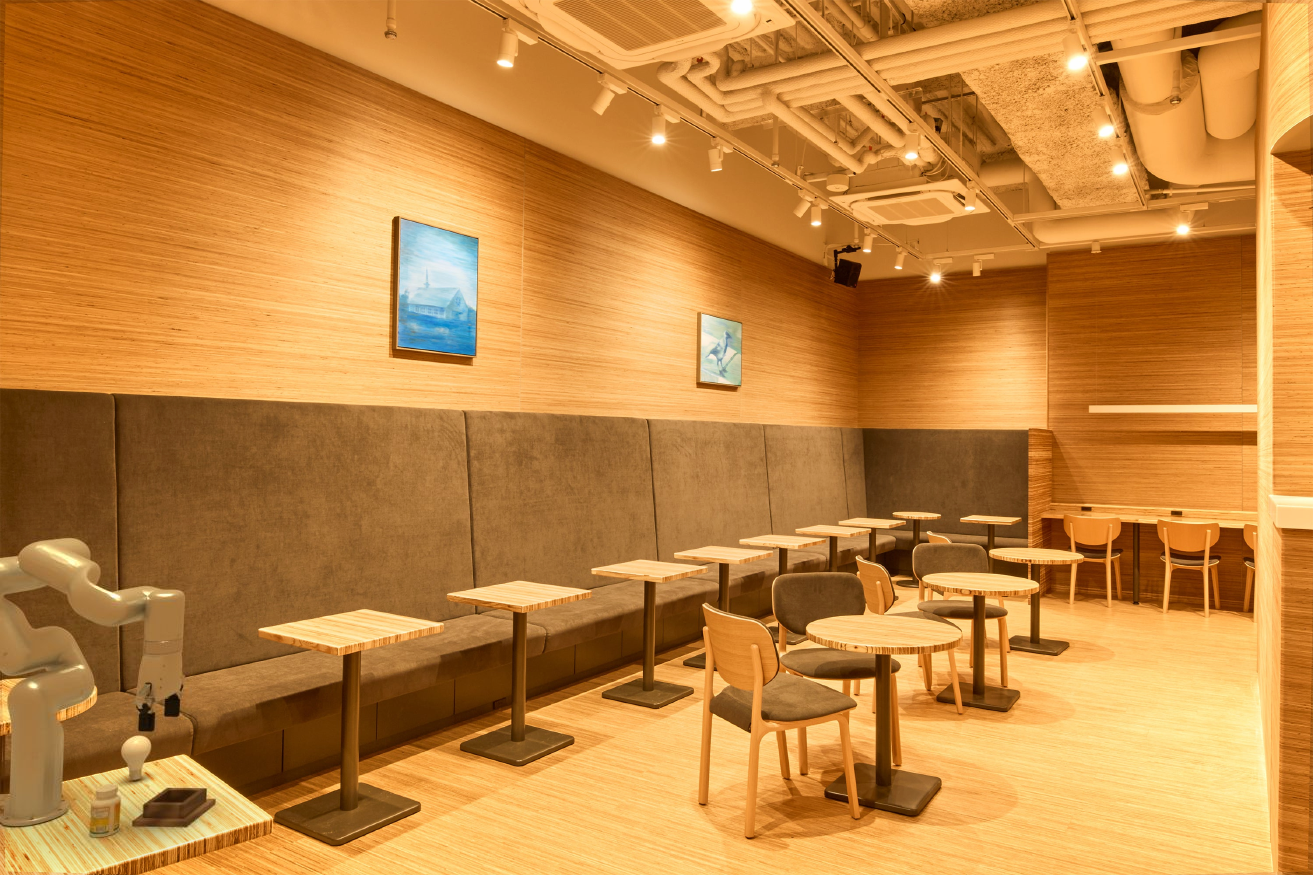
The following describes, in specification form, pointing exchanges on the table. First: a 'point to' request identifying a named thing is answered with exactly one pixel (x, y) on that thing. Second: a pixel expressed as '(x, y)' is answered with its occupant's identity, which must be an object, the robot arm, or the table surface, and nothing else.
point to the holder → (174, 808)
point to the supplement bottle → (105, 811)
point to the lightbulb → (135, 755)
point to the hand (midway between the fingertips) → (159, 723)
